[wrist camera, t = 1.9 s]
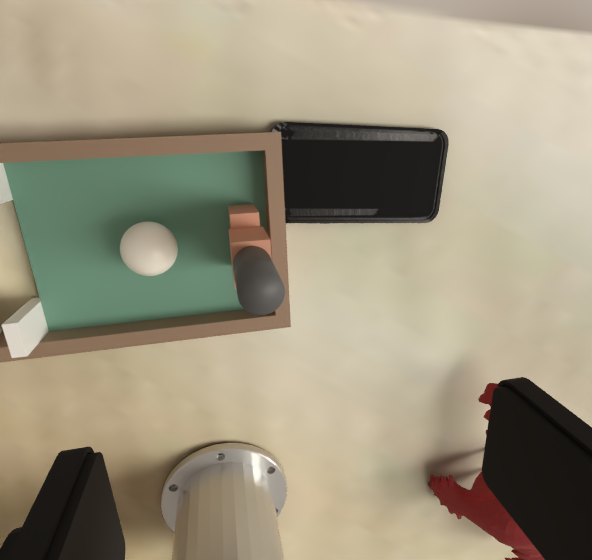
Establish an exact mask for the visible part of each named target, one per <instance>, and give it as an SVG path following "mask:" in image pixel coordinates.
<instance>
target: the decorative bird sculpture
mask: <svg viewBox="0 0 592 560" xmlns="http://www.w3.org/2000/svg"><path fill="white" fill-rule="evenodd" d="M497 387H498V384H495V383H489V384H488V385H487V386H486V389H485V392H484V394H482V395H481V396H480V397H479V399H478V400H479V402H482V403H485V404H489V405H490V406H491V403H492V396H493V391H494V389H495V388H497ZM490 410H491V409H490ZM490 410H488V411H487V412H486V413H485V415H484V418H486V419H487V420H488V421H489V417H490ZM486 435H487V430H486ZM430 480H431V483H428V485H429V487H430V488H431V489H432V490H433V492H434V495H435V496H437V497H438V498H439V500H440V503H441V505H445V506H446V507H447V508H448V510H449V512H450V513H451V514H453V513H455V514H456V515H457V518H458V519H461V515H462V516H465V517H466V518H468V519H469V520H471V521H472V522H473V523H475V524H476V525H478V526H479V527H480V528H482V529H483V530H484V531H486V532H487V533H488V534H490V535H491V536H493V537H494V538H496V539H497V540H498V541H499V542H501V543H503V544H505V545H508V546H511V547H512V548H513V550H512V552H513V553H514V554H515V555H517V556H518V557H519V558H512V559H510V558H505V560H545V559H544V558H543V557H542V555H541V554H540V553H539V551H538V550H537V549H536V548H535V546H534V545H533V544H532V543H531V541H530V540H529V539H528V537H527V536H526V535H525V534H524V532H523V531H522V530H521V529H520V527H519V526H518V525H517V523H516V522H515V521H514V520H513V518H512V517H511V516H510V515H509V513H508V512H507V511H506V510H505V508H504V507H503V506H502V504H501V503H500V502H499V501H498V499H497V498H496V497H495V496H494V494H493V493H492V492H491V490H490V489H489V488H488V487H487V485H486V484H485V481H484V479H483V476H482V472H481V473H480V474H479V475H478V476H477V478H476V480H475V482H474V484H473V487H472V489H471V490H467V489H465V488H463V487H461V486H460V485H458V484H457V483H456V482H455V481H454V479H453V477H452V476H451V475H449V480H448V479H447V478H446V477H445V476H444V475H441V479H440V478H439V477H434V476H433V475H431V476H430Z"/></svg>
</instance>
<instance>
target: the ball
mask: <svg viewBox="0 0 592 560" xmlns="http://www.w3.org/2000/svg"><path fill="white" fill-rule="evenodd" d="M177 253H178V245H177V241H176V239H175V237H174V235H173V234H172V232H171V231H170V230H169V229H168V228H166V227H165V226H163V225H161V224H159V223H156V222H140V223H137V224H135V225H133V226H131V227H130V228H129V229H128V230H127V231H126V232H125V233H124V235H123V237H122V239H121V242H120V254H121V257H122V260H123V261H124V263H125V264H126V266H127V267H128V268H129V269H131V270H132V271H133V272H135V273H137V274H140V275H144V276H156V275H159V274H162V273H164V272H165V271H167V270H168V269H169V268H170V267H171V266H172V265H173V264H174V262H175V260H176V257H177Z"/></svg>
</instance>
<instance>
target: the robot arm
mask: <svg viewBox="0 0 592 560" xmlns="http://www.w3.org/2000/svg"><path fill="white" fill-rule="evenodd" d="M482 476H483V479H484V481H485V484H486V485H487V487H488V488H489V489H490V490H491V492H492V493H493V494H494V496H495V497H496V498H497V499H498V501H499V502H500V503H501V504H502V506H503V507H504V508H505V510H506V511H507V512H508V513H509V515H510V516H511V517H512V518H513V520H514V521H515V522H516V523H517V525H518V526H519V527H520V529H521V530H522V531H523V532H524V534H525V535H526V536H527V537H528V539H529V540H530V541H531V543H532V544H533V545H534V546H535V548H536V549H537V550H538V551H539V553H540V554H541V555H542V557H543V558H544V559H545V560H592V427H590V426H589V425H588V424H586V423H585V422H584V421H582V420H581V419H580V418H579V417H577V416H576V415H575V414H573V413H572V412H571V411H569V410H568V409H567V408H565V407H564V406H563V405H562V404H560V403H559V402H558V401H556V400H555V399H554V398H552V397H551V396H550V395H548V394H547V393H546V392H545V391H543V390H542V389H541V388H539V387H538V386H537V385H535V384H534V383H533V382H531V381H530V380H529V379H527V378H523V377H521V378H515V379H509V380H503V381H500V383H499V384H498V387H497V388H495V389H494V391H493V396H492V403H491V410H490V417H489V423H488V430H487V437H486V444H485V451H484V458H483V465H482ZM286 497H287V484H286V478H285V475H284V472H283V469H282V467H281V466H280V464H279V462H278V461H277V460H276V459H275V458H274V457H273V456H272V455H271V454H269V453H268V452H266V451H264V450H263V449H261V448H258V447H255V446H253V445H248V444H243V443H223V444H216V445H212V446H209V447H205V448H203V449H200V450H198V451H196V452H194V453H192V454H191V455H189V456H188V457H186V458H185V459H183V460H182V461H181V462H180V463H179V464H178V465H177V466H176V467H174V469H173V470H172V472H171V473H170V474H169V476H168V477H167V480H166V482H165V484H164V487H163V492H162V497H161V510H162V515H163V518H164V520H165V522H166V524H167V525H168V526H169V528H170V529H171V530H172V531H173V532H174V540H173V551H172V560H284V556H283V550H282V544H281V538H280V533H279V527H278V521H277V517H278V515H279V514H280V512H281V510H282V509H283V507H284V504H285V501H286ZM0 560H125V541H124V536H123V533H122V529H121V525H120V521H119V517H118V513H117V509H116V505H115V501H114V497H113V493H112V489H111V486H110V482H109V478H108V474H107V470H106V466H105V462H104V458H103V455H102V453H101V452H98V453H94V451H93V449H92V448H91V447H84V448H78V449H72V450H65V451H61V452H60V453H59V454H58V456H57V457H56V459H55V461H54V463H53V465H52V467H51V469H50V471H49V473H48V476H47V478H46V480H45V482H44V484H43V486H42V488H41V490H40V492H39V494H38V496H37V498H36V500H35V502H34V504H33V506H32V508H31V510H30V512H29V514H28V516H27V518H26V520H25V522H24V524H23V526H22V527H21V528H16V529H14V530H13V531H12V532H11V533H10V534H9V535H8V536H7V538H6V540H5V541H4V543H3V545H2V547H1V549H0Z"/></svg>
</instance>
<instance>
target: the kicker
mask: <svg viewBox="0 0 592 560" xmlns="http://www.w3.org/2000/svg"><path fill="white" fill-rule="evenodd" d="M228 213H229V223H230V229H228V231H229V242H230V252H231V262H232V272H233V278H234V285H235V290H236V289H237V295H238V300H239V303H240V305H241V306H242V307H243V308H244V309H245V310H246V311H247V312H249V313H251V314H254V315H266V314H269V313H272V312H273V311H275V310H276V309H278V308H279V306H280V305H281V304H282V302H283V300H284V297H285V287H284V284H283V282H282V280H281V278H280V276H279V274H278V271H277V269H276V267H275V265H274V263H273V261H272V258H271V242H270V238H269V236H268V235H267V233H266V231H265V229H264V228H263V226H262V227H260V220H259V212H258V210H257V209H256V207H255V205H254V204H246V205H232V206H228Z"/></svg>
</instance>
